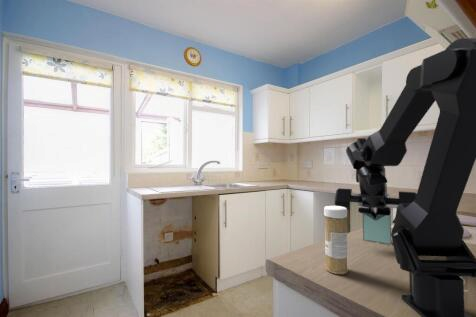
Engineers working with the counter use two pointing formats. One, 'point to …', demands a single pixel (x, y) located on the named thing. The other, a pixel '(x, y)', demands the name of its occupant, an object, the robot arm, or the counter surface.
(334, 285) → the counter surface
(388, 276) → the counter surface
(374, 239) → the tile
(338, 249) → the sprinkles bottle
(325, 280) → the counter surface
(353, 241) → the counter surface
